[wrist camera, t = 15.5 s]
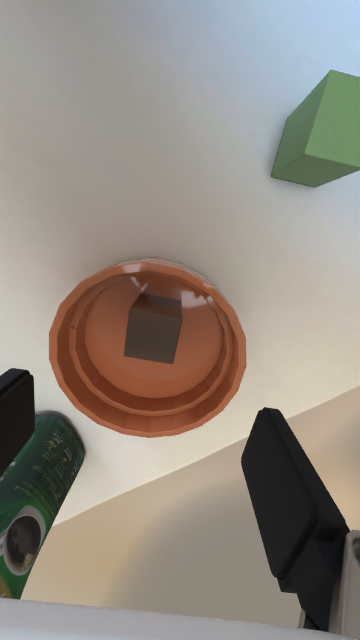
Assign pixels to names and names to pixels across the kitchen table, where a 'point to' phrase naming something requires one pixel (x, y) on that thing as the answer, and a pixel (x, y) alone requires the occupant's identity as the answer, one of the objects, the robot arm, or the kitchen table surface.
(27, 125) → the kitchen table surface
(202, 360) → the bowl
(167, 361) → the walnut block
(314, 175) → the sage-green block
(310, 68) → the kitchen table surface
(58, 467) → the coffee jar
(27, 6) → the kitchen table surface
